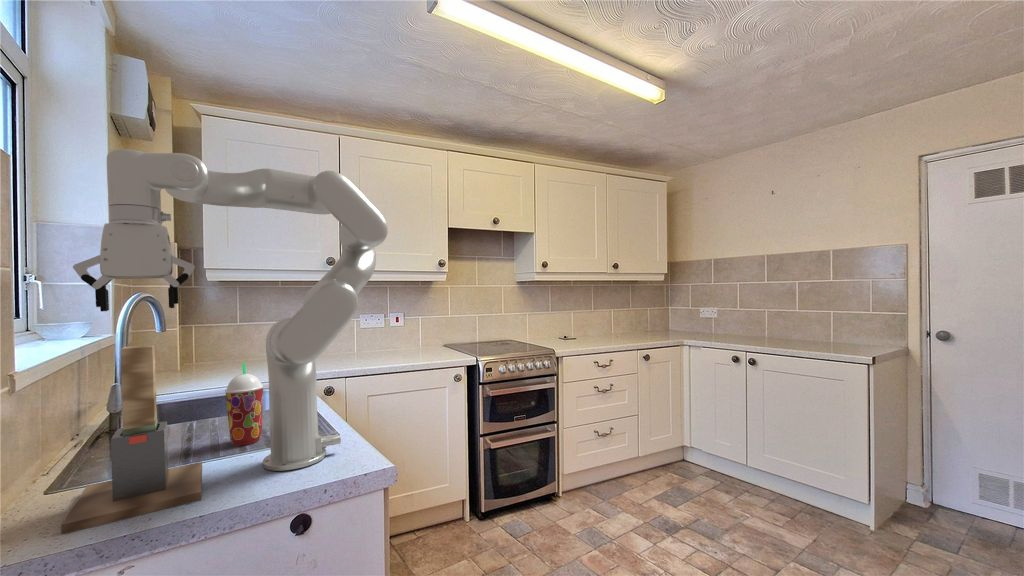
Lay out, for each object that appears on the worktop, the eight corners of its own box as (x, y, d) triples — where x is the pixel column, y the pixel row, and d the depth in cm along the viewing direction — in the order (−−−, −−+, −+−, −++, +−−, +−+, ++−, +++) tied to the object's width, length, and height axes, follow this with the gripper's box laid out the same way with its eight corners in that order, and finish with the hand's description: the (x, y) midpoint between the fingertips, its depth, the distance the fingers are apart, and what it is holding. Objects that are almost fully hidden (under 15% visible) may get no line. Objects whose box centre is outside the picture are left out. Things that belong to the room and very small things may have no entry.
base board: (202, 468, 94) (201, 461, 94) (201, 500, 79) (200, 491, 79) (87, 493, 84) (87, 485, 84) (61, 534, 69) (61, 524, 69)
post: (158, 437, 85) (155, 344, 85) (155, 443, 81) (152, 346, 81) (126, 442, 82) (123, 346, 82) (122, 449, 79) (119, 349, 79)
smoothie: (257, 434, 117) (255, 359, 117) (270, 440, 111) (268, 361, 112) (221, 443, 110) (219, 364, 110) (233, 450, 105) (231, 367, 105)
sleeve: (168, 476, 87) (167, 421, 87) (165, 490, 80) (163, 430, 80) (119, 487, 83) (117, 428, 83) (112, 502, 76) (110, 439, 76)
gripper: (193, 223, 90) (196, 306, 90) (76, 218, 80) (80, 312, 80) (192, 218, 84) (195, 307, 84) (65, 212, 74) (69, 313, 74)
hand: (139, 309), depth 82 cm, fingers open, 9 cm apart
